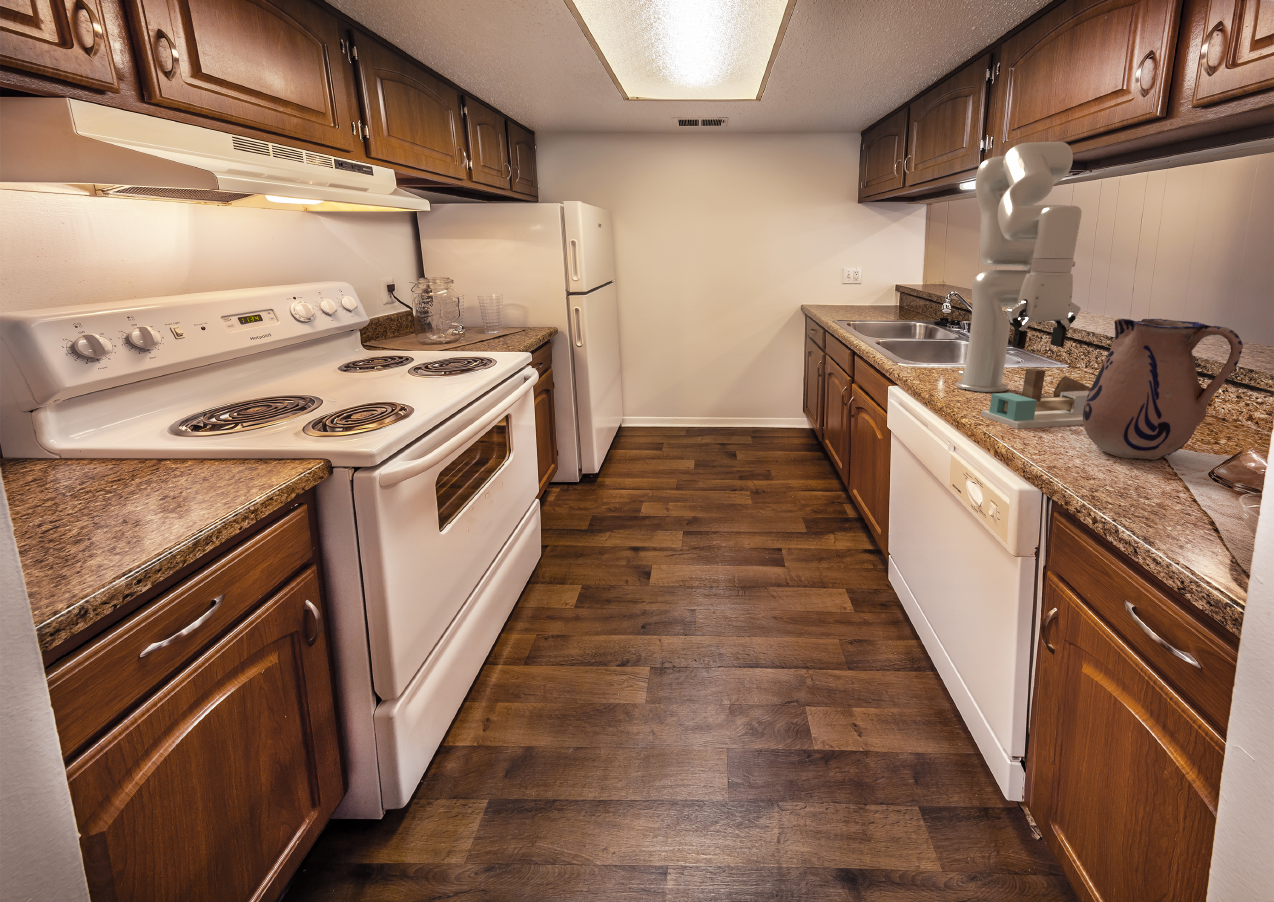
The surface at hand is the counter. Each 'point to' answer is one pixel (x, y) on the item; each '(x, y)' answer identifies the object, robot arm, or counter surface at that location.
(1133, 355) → the ceramic pitcher
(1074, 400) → the sleeve
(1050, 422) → the base board
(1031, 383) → the tan wooden l-shaped piece
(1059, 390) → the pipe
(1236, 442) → the counter surface
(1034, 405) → the socket block
